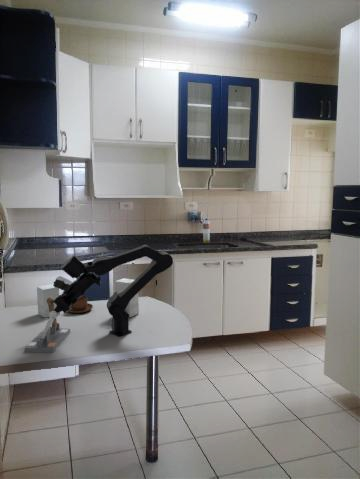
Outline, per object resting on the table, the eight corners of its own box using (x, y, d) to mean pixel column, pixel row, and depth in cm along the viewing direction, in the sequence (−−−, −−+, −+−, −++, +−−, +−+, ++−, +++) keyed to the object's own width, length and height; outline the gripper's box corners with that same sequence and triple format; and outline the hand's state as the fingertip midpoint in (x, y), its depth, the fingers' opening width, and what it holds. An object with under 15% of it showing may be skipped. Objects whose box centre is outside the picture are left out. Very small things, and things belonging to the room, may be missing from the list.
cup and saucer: (83, 316, 182) (83, 302, 181) (60, 313, 186) (59, 299, 185) (97, 308, 193) (97, 295, 192) (75, 305, 197) (75, 293, 196)
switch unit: (70, 332, 162) (70, 322, 162) (53, 352, 144) (52, 341, 143) (45, 331, 163) (44, 322, 162) (25, 351, 144) (24, 341, 144)
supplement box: (60, 314, 183) (59, 286, 181) (44, 318, 179) (42, 289, 177) (53, 310, 189) (52, 283, 187) (37, 313, 184) (36, 286, 182)
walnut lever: (59, 327, 161) (54, 296, 159) (57, 329, 158) (52, 298, 156) (52, 328, 161) (47, 296, 159) (50, 330, 158) (44, 298, 156)
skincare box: (139, 314, 185) (139, 280, 183) (129, 318, 179) (129, 283, 177) (124, 310, 189) (124, 277, 187) (115, 314, 184) (114, 280, 181)
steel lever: (46, 342, 148) (59, 311, 146) (43, 345, 145) (57, 314, 143) (39, 338, 148) (52, 308, 146) (36, 341, 145) (49, 310, 143)
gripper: (73, 264, 165) (47, 291, 167) (58, 276, 146) (29, 305, 148) (94, 284, 166) (67, 310, 168) (80, 298, 147) (51, 326, 149)
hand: (54, 312), depth 158 cm, fingers closed, pressing on walnut lever
